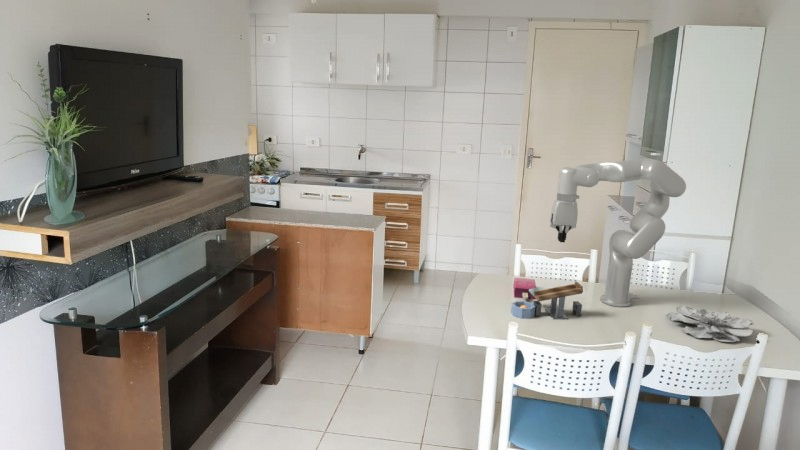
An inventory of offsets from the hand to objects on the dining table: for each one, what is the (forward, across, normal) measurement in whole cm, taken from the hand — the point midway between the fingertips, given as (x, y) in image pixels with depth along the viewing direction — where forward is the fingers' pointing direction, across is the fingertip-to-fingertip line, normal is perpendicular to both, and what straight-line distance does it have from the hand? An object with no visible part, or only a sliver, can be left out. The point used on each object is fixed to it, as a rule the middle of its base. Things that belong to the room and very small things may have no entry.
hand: (561, 241), depth 239 cm
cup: (+27, +18, +13) cm, 35 cm away
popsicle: (+28, +10, -10) cm, 31 cm away
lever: (+19, +4, +9) cm, 22 cm away
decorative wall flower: (+28, -53, +26) cm, 65 cm away
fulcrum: (+27, +4, +13) cm, 30 cm away
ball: (+25, +18, +13) cm, 33 cm away
